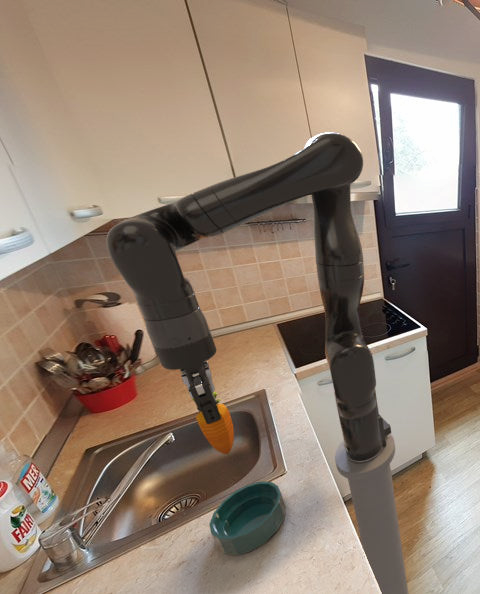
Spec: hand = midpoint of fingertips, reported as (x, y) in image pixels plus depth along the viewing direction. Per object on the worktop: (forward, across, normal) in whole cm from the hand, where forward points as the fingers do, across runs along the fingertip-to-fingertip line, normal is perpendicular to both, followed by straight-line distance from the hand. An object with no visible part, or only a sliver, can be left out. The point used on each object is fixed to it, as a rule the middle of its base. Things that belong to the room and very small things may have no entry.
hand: (212, 413), depth 63 cm
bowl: (+27, -4, 0) cm, 28 cm away
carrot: (+11, 0, 0) cm, 11 cm away
